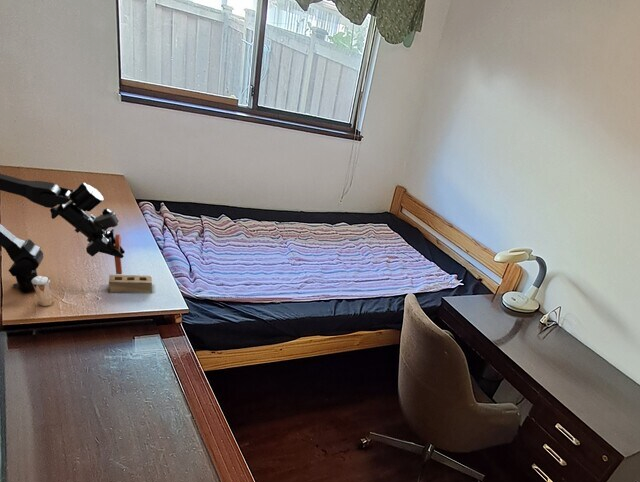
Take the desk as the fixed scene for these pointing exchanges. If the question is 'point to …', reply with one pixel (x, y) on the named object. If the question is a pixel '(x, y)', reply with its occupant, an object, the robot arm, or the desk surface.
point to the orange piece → (117, 259)
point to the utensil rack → (130, 283)
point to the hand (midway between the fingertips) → (123, 255)
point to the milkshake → (42, 290)
